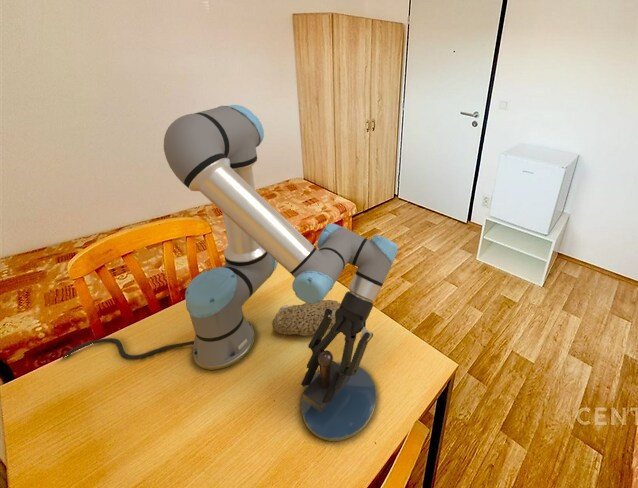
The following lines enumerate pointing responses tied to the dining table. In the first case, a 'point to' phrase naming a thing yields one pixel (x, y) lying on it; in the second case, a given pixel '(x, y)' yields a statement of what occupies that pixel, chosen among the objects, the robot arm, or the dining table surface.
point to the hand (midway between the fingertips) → (315, 392)
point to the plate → (343, 409)
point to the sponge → (303, 317)
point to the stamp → (323, 382)
